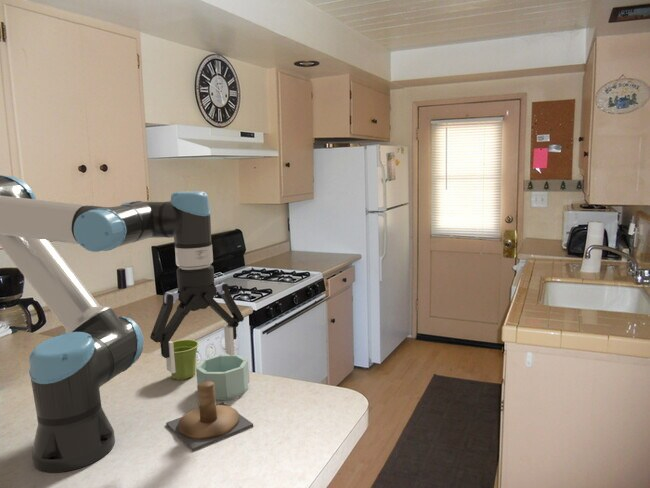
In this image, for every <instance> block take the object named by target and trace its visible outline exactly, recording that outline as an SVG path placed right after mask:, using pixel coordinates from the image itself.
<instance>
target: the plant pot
mask: <svg viewBox="0 0 650 488" xmlns="http://www.w3.org/2000/svg"><path fill="white" fill-rule="evenodd" d="M172 342H173V345H174V358H175V371H176V373H171V372H170V373H171V378H173V379H174V380H178V381H184V380H187V379H189V378H193V377H194V376H195V375H196V367H197V365H196V362H197V351H198V347H199V344H200V343H199V342H198V341H197V340H194V339H180V340H179V339H178V340H175V341H172Z"/></svg>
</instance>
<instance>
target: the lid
mask: <svg viewBox="0 0 650 488" xmlns="http://www.w3.org/2000/svg"><path fill="white" fill-rule="evenodd" d="M196 390H197V398H198V399H197V400H198V408H195V409H192V410H190V411H188V412H187V413H185V414H184V415H182V416H181V417H182V418H181V419H180V420H179V422H178V429H179V432H180V434H181V435H183V436H184V437H187V438H190V439H210V438H215V437H219V436H221V435H224V434H226V433H228V432H230V431H231V430H233V429H234V428H235V427H236V426H237V425H238V423H239V414H240V413H239V412H238V411H237V410H236V408H234V407H232V406H229V405H228V406H224V405H216V404H217V401H216V399H215V387H214V382H211V381H206V382H202V383H199V384H197V385H196ZM238 413H239V414H238Z"/></svg>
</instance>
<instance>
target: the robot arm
mask: <svg viewBox="0 0 650 488" xmlns="http://www.w3.org/2000/svg"><path fill="white" fill-rule="evenodd" d="M211 214H212V211H211V208H210V200H209V195H208V194H207V192H205V191H202V190H190V191H186V190H185V191H175V192H172V193H171V195H170V201H141V200H135V201H127V202H124V203H121V204H120V205H117V206H116V205H115V206H98V205H89V204H81V203H80V204H79V203H72V202H63V201H62V202H61V201H54V200H53V201H52V200H43V199H37V197H36V195H35V193H34V190H33V189H32V187H30V186H29V185H28V184H27V183H26V182H25V181H24V180H22V179H20V178H18V177H15V176H11V175H2V174H0V247H1V248H2V250H3V251H4V252H5V254H6V255H7V257H9V259H10V260H11V262H12V263H13V264H14V265H15V266H16V268H17V269H18V270H19V272H20V273H21V275H23V277H24V278H25V280H27V282H28V283H29V284H30V286H31V288H33V289H34V290H35V292H36V293H37V295H38V296H39V297H40V299H41V300H42V301H43V302H44V304H45V306H47V308H48V309H50V310H49V311H51V312H52V314H53V315H54V316H55V318H56V319H57V321H58V322H59V323H60V324H61V326H63V328H64V329H65V330H64V331H65V332H64V333H61V334H60V335H55V336H52V337H50V338H47V339H45V340H44V341H42V342H40V343H39V344H37V345H36V346H35V347H34V348H33V350H32V351H31V352H30V354H29V360H28V362H29V372H28V373H29V374H28V375H29V377H30V382H31V388H32V394H33V400H34V405H35V412H36V417H37V428H36V430H35V435H34V441H33V445H32V449H31V450H32V451H31V456H32V457H31V458H32V463H33V466H34V467H35V469H37V470H39V471H42V472H46V473H62V472H68V471H73V470H77V469H80V468H83V467H86V466H89V465H91V464H93V463H96V462H97V461H99V460H101V459H102V458H103V457H105V456H106V455H108V453H110V451H112V450H113V448H114V446H115V443H116V437H115V431H114V428H113V426H112V423H111V422H110V420H109V418H108V416H107V415H106V413H105V411H104V409H103V407H102V400H101V391H100V388H101V387H102V386H103V385H105V384H106V383H108V382H110V381H111V380H112V379H113V378H115V377H117V376H118V375H120V374H121V373H122V372H125V371H127V370H128V369H129V368H131V367H132V366H133V365H134V364H135V363H136V362H137V361H139V358H141V355H142V354H143V351H144V342H145V341H144V340H145V339H144V334H143V332H142V330H141V328H140V326H139V325H138V323H136V321H135V320H133V319H132V318H130V317H126V316H123V315H122V316H121V315H120V316H118V315H117V314H116V312H115V311H114V310H113V309H112V307H111V306H104V305H103V306H102V305H101V304H99V302H98V301H97V299H95V297H94V296H93V295H92V294H91V292H90V291H89V289H88V288H87V286H85V284H84V283H83V282H82V281H81V279H80V278H79V277H78V275H77V274H76V273H75V271H74V270H73V269H72V267H71V266H70V265H69V264H68V263H67V261H66V260H65V259H64V258H63V256H62V255H61V254H60V252H59V251H58V250H57V248H55V246H54V245H53V243H52V242H59V243H60V242H61V243H69V244H76V245H79V246H81V247H82V248H84V249H85V250H86V251H89V252H92V253H95V252H97V253H99V252H106V251H107V252H108V251H112V250H113V249H116V248H119V247H122V246H126V245H130V244H132V243H133V244H134V243H136V242H139V241H140V242H141V241H143V240H146V239H152V238H154V239H155V238H171V239H172V238H173V242H174V252H175V256H174V257H175V265H176V266H177V269H176V279H177V292H176V293H169V292H164V293H163V294H162V305H161V307H160V310H159V313H158V314H157V317H156V320H155V323H154V325H153V328H152V330H151V333H150V340H152V341H153V342H155V343H156V344H157V343H160V344H159V345H160V353H161V354H160V355H161V357H163V358H164V359H165V361H166V369H167V371H168V372H169V373H176V371H175V358H174V345H173V342H174V341H172V340H171V339H172V338H173V336H174V334H175V333H176V332H177V330H178V328H179V327H180V325H181V324H182V322H183V321H184V320H185V317H186V316H187V315H189V313H190V312H191V311H192V312H195V311H199V310H206V309H207V308H208V307H210V308H211V309H212V310H213V311H214V312H215V313H216V314H217V315H218V316H219V317H220V318H221V319H223V320H224V321H225V322H226V324H224V325H223V332H224V345H225V346H224V347H225V354H226V355H230V356H234V355H235V342H234V340H236V339H237V336H238V334H237V327H239V324H240V322H243V321H244V320H245V317H244V316H243V314H242V312H241V310H240V309H239V306H238V304H237V303H236V302H235V299H234V298H233V297H232V295H231V293H230V287H229V284H228V283H225V282H222V281H220V282H219V283H218V284H217V285H215V270H214V269H215V268H214V266H213V265H212V263H213V262H214V253H213V244H212V243H213V242H212V225H211ZM51 241H52V242H51ZM217 293H218V294H219V295H220V296H221V298H222V300H223V302H224V303H225V305H226V307H227V308H228V310H229V312H230V314H231V315H232V316H231V315H230V314H229V313H228V312H227V311H226V310H225V308H223V307H222V306H221V305H220V304H219V303H218V302H217V301H216V300H215V299H214V297H215V296H216V294H217ZM177 300H178V301H179V304H178V305H177V307H176V309H175V310H176V311H174V314H173V315H172V317H171V318H170V316H171V313H172V310H173V307H174V304H176V301H177ZM169 319H170V320H169Z"/></svg>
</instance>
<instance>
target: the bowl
mask: <svg viewBox="0 0 650 488" xmlns="http://www.w3.org/2000/svg"><path fill="white" fill-rule="evenodd" d="M195 375H196V382H197V385H198V384H199V383H202V382H206V381H211V382H214V387H215V399H216V402H218V401H219V402H220V401H221V402H223V401H228V400H229V401H230V400H232V399H235V398H236V399H237V398H239V397H240V396H243V395H244V394H245V393H247V392H248V389H249V384H250V370H249V360H248V359H247V358H245V357H243V356H242V355H240V354H234V356H230V355H228V354H217V355H215V356H211V357H208V358H205V359H202V360H201V361H200V363H198V364H197V365H196V367H195Z"/></svg>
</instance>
